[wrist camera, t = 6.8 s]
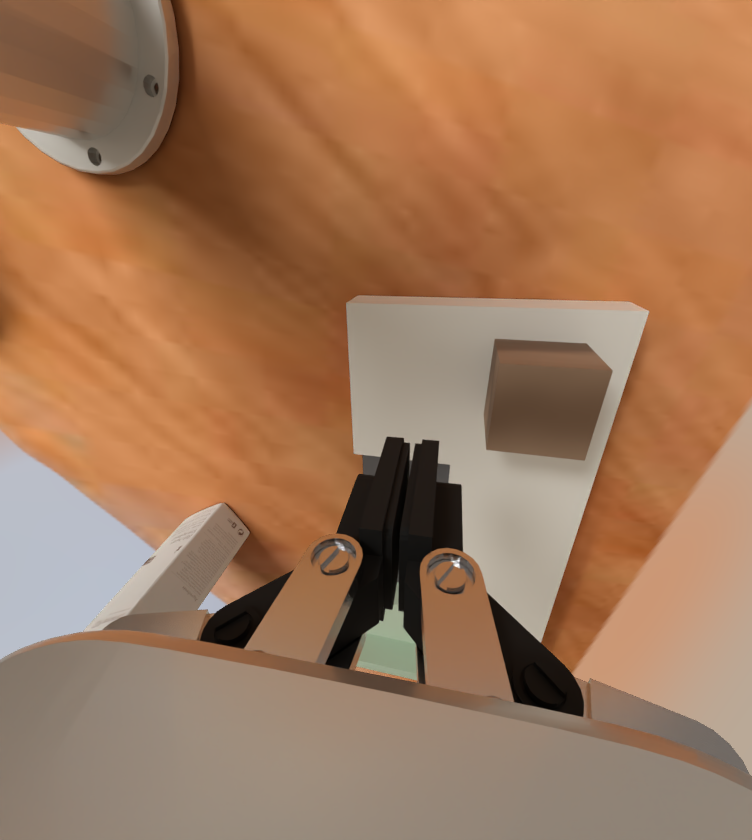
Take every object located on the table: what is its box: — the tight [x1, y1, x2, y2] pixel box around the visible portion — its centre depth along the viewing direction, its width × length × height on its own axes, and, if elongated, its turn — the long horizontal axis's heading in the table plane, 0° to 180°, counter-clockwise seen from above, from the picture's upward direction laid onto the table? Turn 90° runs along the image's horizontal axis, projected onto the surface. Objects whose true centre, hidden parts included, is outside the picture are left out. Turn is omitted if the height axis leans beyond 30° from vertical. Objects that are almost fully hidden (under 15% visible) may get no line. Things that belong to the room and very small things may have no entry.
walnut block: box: [484, 339, 613, 461], centre depth 18 cm, size 4×4×4 cm
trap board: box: [346, 295, 649, 680], centre depth 26 cm, size 31×15×5 cm, turn 1°
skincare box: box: [83, 503, 250, 632], centre depth 31 cm, size 6×4×12 cm
